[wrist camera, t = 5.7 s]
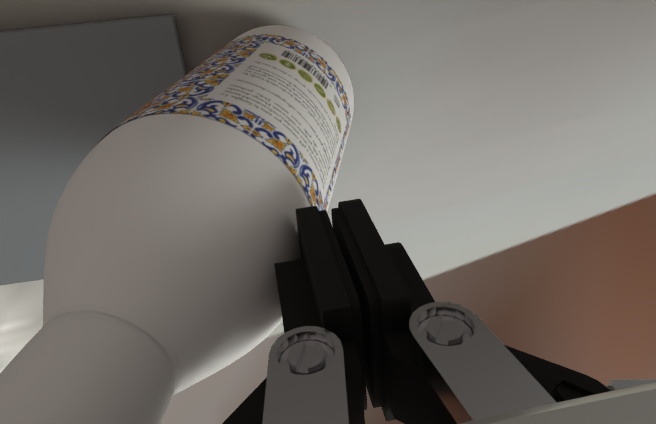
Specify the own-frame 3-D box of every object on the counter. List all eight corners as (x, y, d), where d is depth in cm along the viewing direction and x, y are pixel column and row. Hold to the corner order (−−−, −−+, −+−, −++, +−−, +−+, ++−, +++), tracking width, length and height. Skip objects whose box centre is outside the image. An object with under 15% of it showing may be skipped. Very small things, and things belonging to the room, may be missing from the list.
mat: (173, 14, 22) (171, 16, 21) (223, 245, 28) (223, 253, 28) (-250, 55, 21) (-267, 59, 20) (-97, 291, 27) (-106, 300, 26)
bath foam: (229, -1, 22) (-383, 312, 5) (376, 52, 22) (271, 516, 5) (204, 135, 26) (-194, 578, 9) (330, 179, 26) (181, 688, 9)
